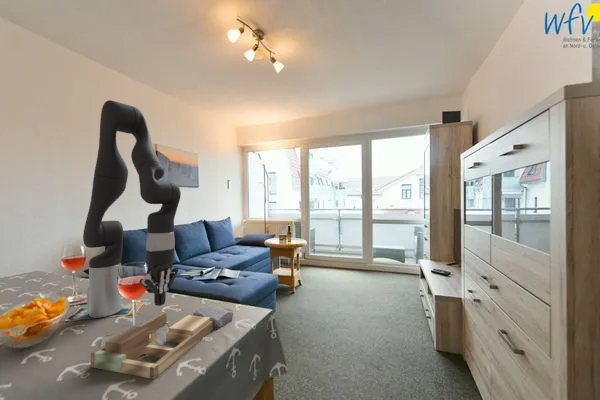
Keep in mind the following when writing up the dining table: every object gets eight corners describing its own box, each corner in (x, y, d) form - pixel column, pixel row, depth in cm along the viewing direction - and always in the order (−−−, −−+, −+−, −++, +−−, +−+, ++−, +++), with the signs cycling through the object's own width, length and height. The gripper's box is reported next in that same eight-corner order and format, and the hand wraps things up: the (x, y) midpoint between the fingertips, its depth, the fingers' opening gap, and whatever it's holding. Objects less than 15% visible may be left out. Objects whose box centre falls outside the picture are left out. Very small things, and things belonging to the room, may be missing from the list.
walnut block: (105, 366, 61) (105, 341, 61) (133, 347, 69) (133, 325, 69) (122, 369, 60) (122, 343, 60) (149, 350, 68) (149, 327, 68)
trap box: (90, 367, 61) (90, 352, 61) (163, 322, 83) (163, 312, 83) (154, 379, 56) (154, 363, 57) (212, 329, 79) (212, 317, 79)
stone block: (211, 316, 92) (189, 322, 83) (213, 302, 93) (191, 307, 84) (236, 324, 87) (215, 331, 78) (238, 310, 87) (218, 315, 79)
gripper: (166, 242, 83) (165, 295, 83) (131, 250, 70) (130, 312, 70) (186, 244, 81) (185, 297, 81) (153, 252, 68) (152, 316, 68)
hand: (159, 304), depth 76 cm, fingers closed
